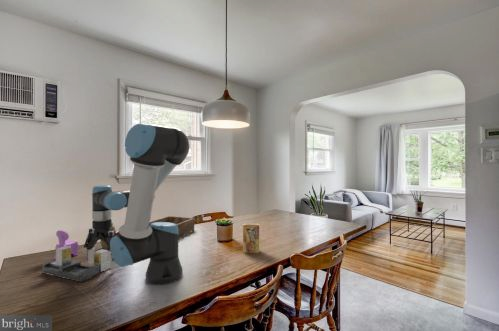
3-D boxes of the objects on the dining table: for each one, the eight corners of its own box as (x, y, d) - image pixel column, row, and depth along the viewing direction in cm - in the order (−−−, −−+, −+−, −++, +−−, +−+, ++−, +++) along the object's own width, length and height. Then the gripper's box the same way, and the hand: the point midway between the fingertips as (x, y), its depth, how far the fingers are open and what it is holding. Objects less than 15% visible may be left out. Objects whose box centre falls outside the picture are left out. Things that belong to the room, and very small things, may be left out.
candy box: (258, 250, 135) (258, 223, 135) (259, 253, 131) (259, 225, 131) (243, 250, 135) (243, 223, 135) (243, 253, 131) (243, 225, 131)
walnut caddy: (194, 230, 175) (194, 218, 175) (165, 244, 145) (165, 229, 145) (168, 227, 182) (168, 215, 182) (136, 240, 153) (136, 226, 153)
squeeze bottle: (114, 244, 145) (114, 214, 145) (118, 247, 139) (118, 216, 139) (98, 247, 139) (98, 216, 139) (102, 251, 133) (102, 219, 133)
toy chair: (80, 255, 128) (80, 227, 127) (63, 261, 119) (63, 231, 119) (69, 253, 130) (68, 226, 130) (51, 259, 122) (51, 230, 122)
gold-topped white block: (109, 264, 116) (109, 246, 116) (115, 266, 114) (115, 247, 114) (93, 272, 108) (93, 252, 108) (99, 273, 107) (99, 253, 107)
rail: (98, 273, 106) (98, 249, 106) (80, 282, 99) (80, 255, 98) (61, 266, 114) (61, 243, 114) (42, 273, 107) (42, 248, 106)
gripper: (129, 219, 109) (129, 266, 110) (90, 215, 118) (90, 258, 118) (115, 223, 102) (115, 273, 103) (74, 218, 110) (74, 264, 111)
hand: (102, 265), depth 110 cm, fingers open, 13 cm apart
